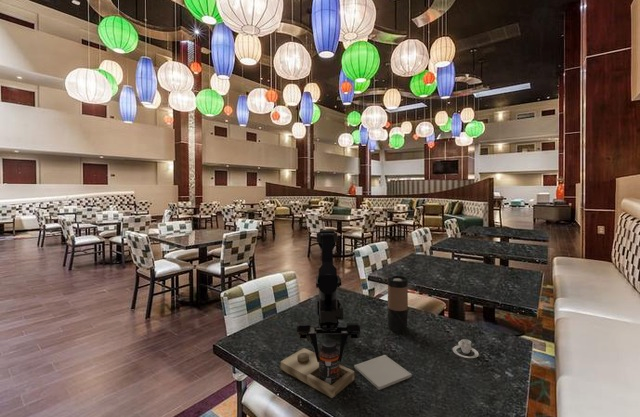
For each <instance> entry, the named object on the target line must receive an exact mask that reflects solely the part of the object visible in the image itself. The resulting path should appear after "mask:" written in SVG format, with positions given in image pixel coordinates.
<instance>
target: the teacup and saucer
mask: <svg viewBox="0 0 640 417" xmlns="http://www.w3.org/2000/svg"><path fill="white" fill-rule="evenodd" d="M459 348H461V351H462V353H463V354H467V355H468V354H470V352H471V351H472V352H473V353H474V354H473V355H471V356H467V355H463V354H461V353H459V352H458V351H457V350H458V349H459ZM452 352H453V353H454V354H455V355H457V356H459V357H461V358H465V359H476V358H477V357H479V355H480V354H479V352H478V350H477V349H475V348H473V347H472V341H471V340H469V339H465V338H463V339H461V340H459V341H458V343H457V345H455V346H453V347H452Z"/></svg>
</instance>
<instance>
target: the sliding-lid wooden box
mask: <svg viewBox="0 0 640 417" xmlns="http://www.w3.org/2000/svg"><path fill="white" fill-rule="evenodd" d="M280 371H283V372H285V373H286V374H288V375H290V376H291V377H293V378H296V379H297V380H299V381H301V382H303V383H304V384H306V385H307V386H309V387H311V388H313V389H315V390H317V391H319V392H320V393H322V394H324V395H325V396H327V397H329V398H330V399H333V398H334V397H336V396H337V395H338V394H339V393H341V391H343V390H344V389H345V388H346V387H348V386H349V385H350V384H351V383H353V381H355V371H354V370H353V369H350V368H349V367H346V366H344V365H341V364H340V363H339V376H340V378H339V380H337V381H336V382H335V383H334V384H332V385H330V384H328V383H326V382H324V381H322V380H320V379H319V362H317V359H316V355H315V352H314V351H312V350H310V349H307V348H305V347H303V348H301V349H299V350H298V351H296V352H294V353H293V354H291V355H289V356H288V357H286V358H284V359H283V360H281V361H280Z"/></svg>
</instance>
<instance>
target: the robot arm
mask: <svg viewBox="0 0 640 417" xmlns="http://www.w3.org/2000/svg"><path fill="white" fill-rule="evenodd" d="M338 238H339V237H338V232H335V229H319V232H316V243H318V247H319V248H320V250H321V265H320V266H319V268H318V275H316V280H315V288H316V289H318V299H317V303H316V304H317V305H316V306H317V309H316V310H317V311H316V312H317V316H318V325H317V327H312V325H311V323H298V325H297V328H296V335H297V338H298V339H300V340H306V341H307V342H309V343H310V344H311V346H312V349H313V352H314V353H315V355H316V359H317V362H319V348H318V347H319V346H318V339H317V335H340V345H339V346H340V347H339V363H342V359H343V355H344V351H345V347H346V345H347V343H348V342H350V341H352V340H353V339H360V337H361V325H360V324H359V323H357V322H354V323H353V322H352V323H351V322H350V323H346V325H345V326H344V327H343V326H341V327H340V326H339V320H341V321H342V320H344V308H343V307H342V306H341V302H340V301H339V299H338V289H339V288H340V287H342V280H341V279H342V278H340V275H338V270H337V267H336V266H335V265H334V254H333V253H334V252H333V250H334V249H335V247H336V244H337V243H338Z"/></svg>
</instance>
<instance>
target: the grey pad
mask: <svg viewBox="0 0 640 417" xmlns="http://www.w3.org/2000/svg"><path fill="white" fill-rule="evenodd" d="M354 369H355V370H356V371H357V372H359V374H361V375H362V376H363V377H364V378H365V379H366V380H367V381H368V382H370V384H371V385H373V386H374V387H375V388H376V389H377V390H378V391H381V390H382V389H385V388H388V387H390V386H392V385H395V384H398V383H400V382H402V381H404V380H408V379H409V378H412V373H410V372H409V371H407V369H405V368H404V367H402V366H401V365H400V364H398V363H397V362H395V361H394V360H393V359H392V358H390V357H388V355H386V354H383V355H380V356H377V357H375V358H374V357H373V358H371V359H369V360H366V361H364V362H363V361H362V362H360V363H357V364H354Z"/></svg>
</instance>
